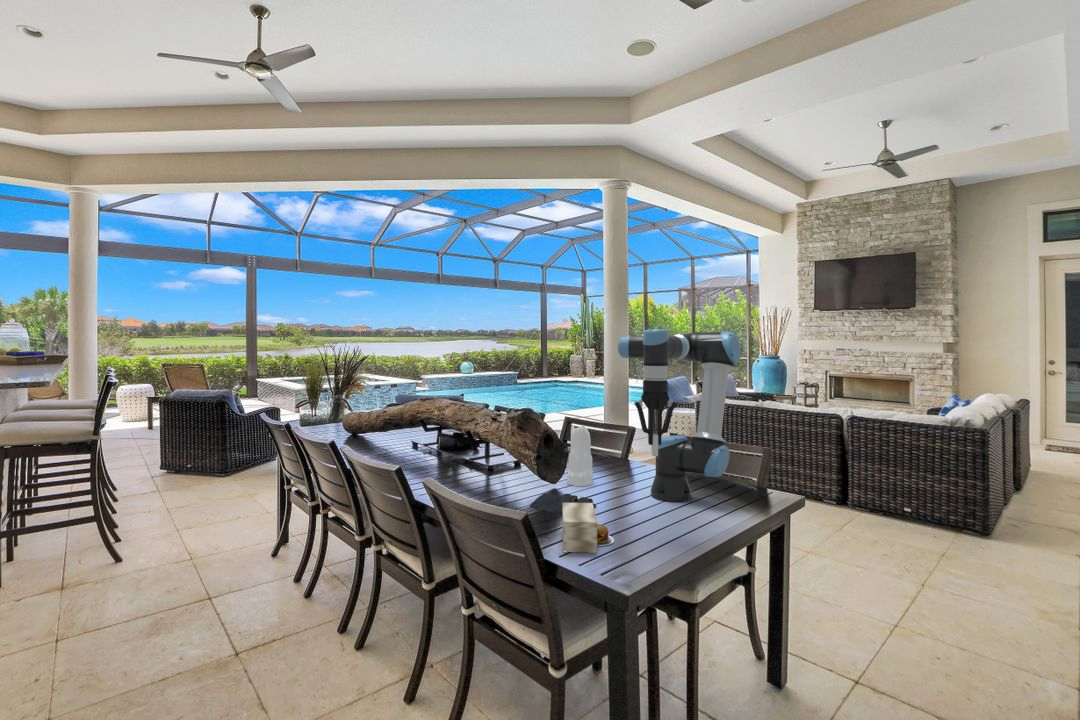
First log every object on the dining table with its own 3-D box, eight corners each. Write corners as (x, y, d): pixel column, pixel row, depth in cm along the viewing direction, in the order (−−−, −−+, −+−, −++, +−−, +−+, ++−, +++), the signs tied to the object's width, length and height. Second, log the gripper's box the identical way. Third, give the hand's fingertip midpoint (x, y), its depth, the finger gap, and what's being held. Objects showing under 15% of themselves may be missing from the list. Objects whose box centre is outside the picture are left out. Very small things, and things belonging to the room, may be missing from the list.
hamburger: (576, 535, 157) (576, 518, 157) (614, 534, 158) (614, 517, 158) (582, 551, 145) (582, 532, 145) (623, 550, 146) (623, 531, 146)
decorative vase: (568, 478, 220) (568, 421, 219) (593, 479, 218) (593, 422, 217) (566, 486, 209) (566, 425, 208) (592, 487, 207) (592, 426, 206)
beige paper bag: (592, 530, 160) (592, 502, 160) (597, 552, 143) (597, 522, 143) (562, 530, 160) (562, 502, 160) (563, 552, 143) (563, 521, 143)
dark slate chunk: (549, 497, 195) (549, 485, 195) (600, 508, 182) (600, 495, 182) (525, 508, 182) (525, 495, 182) (578, 520, 170) (578, 506, 170)
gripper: (673, 378, 160) (672, 452, 161) (632, 378, 160) (631, 452, 161) (679, 380, 152) (678, 458, 153) (636, 380, 153) (635, 457, 153)
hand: (654, 455), depth 157 cm, fingers closed
